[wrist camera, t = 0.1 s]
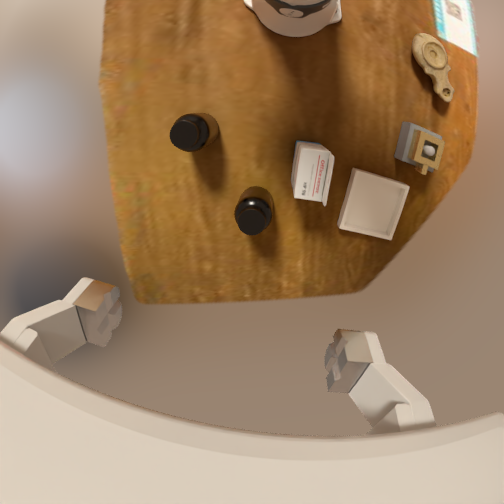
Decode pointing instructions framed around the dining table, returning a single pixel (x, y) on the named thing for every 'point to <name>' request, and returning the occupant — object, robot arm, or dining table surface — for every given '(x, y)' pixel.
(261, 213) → the supplement bottle
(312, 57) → the dining table surface
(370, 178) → the tray
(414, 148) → the tan square frame block
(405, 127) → the grey pegged cube
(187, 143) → the supplement bottle
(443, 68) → the oil lamp
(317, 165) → the ink box
